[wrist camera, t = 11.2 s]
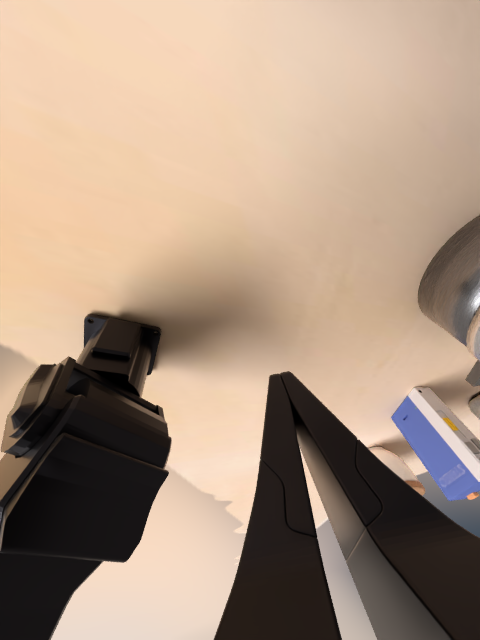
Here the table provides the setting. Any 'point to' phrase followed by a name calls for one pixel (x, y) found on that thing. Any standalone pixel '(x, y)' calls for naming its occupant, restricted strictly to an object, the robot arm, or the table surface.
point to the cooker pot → (455, 286)
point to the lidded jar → (398, 467)
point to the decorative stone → (475, 406)
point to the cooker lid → (474, 336)
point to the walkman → (441, 443)
